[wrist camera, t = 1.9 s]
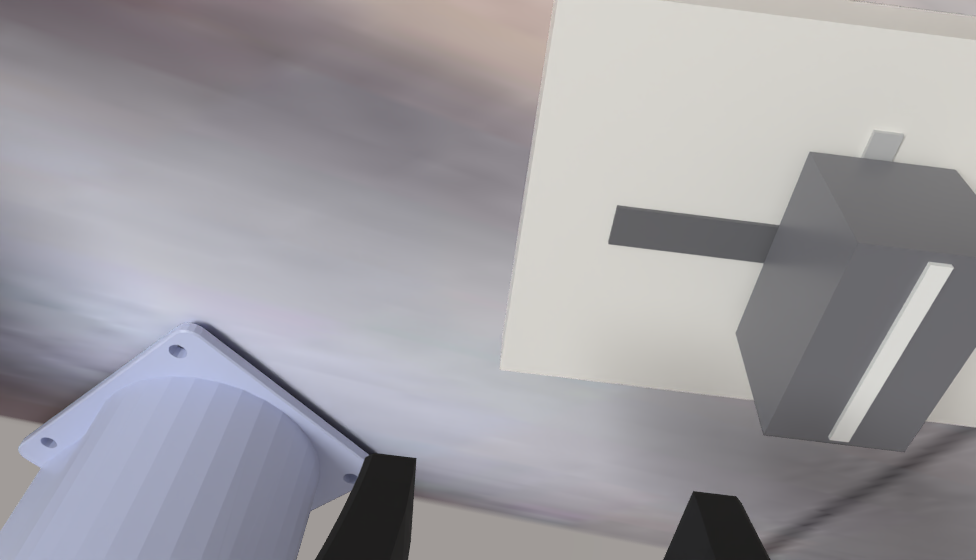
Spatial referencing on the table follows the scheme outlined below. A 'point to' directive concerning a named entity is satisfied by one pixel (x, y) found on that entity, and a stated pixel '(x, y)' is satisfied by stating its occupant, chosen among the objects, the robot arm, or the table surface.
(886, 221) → the fader knob
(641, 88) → the fader console
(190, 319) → the table surface
